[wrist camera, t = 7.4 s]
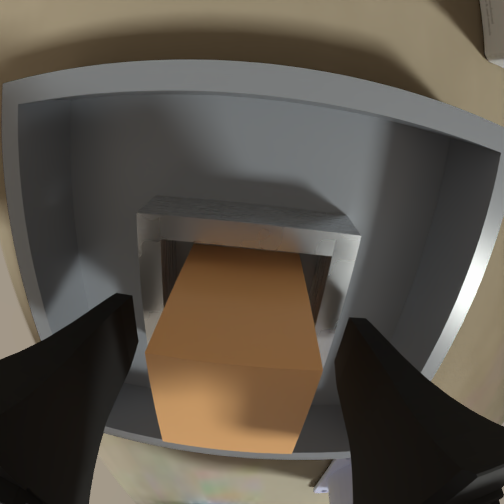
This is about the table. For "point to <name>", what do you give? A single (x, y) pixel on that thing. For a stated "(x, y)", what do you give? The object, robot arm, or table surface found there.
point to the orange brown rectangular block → (235, 352)
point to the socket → (250, 236)
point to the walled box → (251, 199)
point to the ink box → (493, 30)
